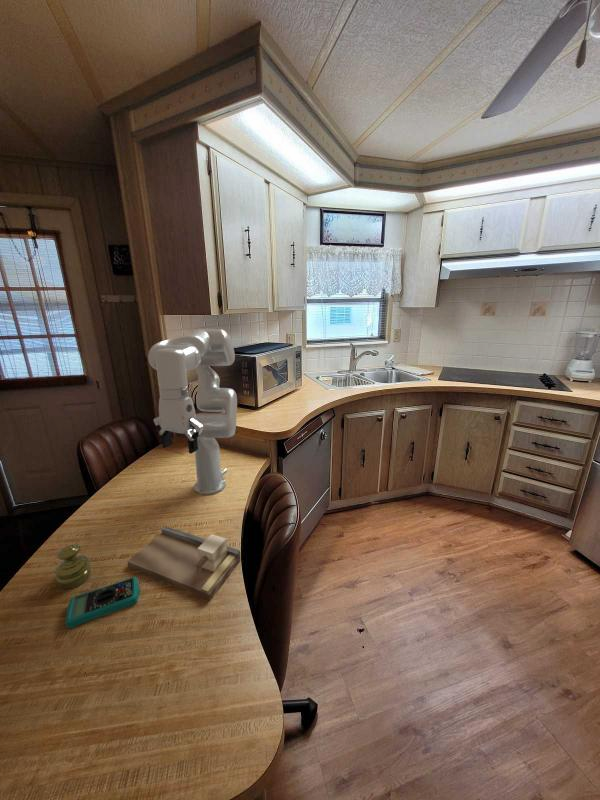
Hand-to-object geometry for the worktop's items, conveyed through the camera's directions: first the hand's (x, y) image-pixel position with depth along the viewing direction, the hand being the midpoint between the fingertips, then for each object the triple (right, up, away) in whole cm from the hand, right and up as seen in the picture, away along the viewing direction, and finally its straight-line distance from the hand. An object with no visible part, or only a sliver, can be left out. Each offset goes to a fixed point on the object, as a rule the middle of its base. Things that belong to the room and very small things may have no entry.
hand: (180, 448), depth 90 cm
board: (+3, -32, -3) cm, 33 cm away
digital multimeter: (-13, -36, -15) cm, 41 cm away
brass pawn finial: (-25, -34, -8) cm, 43 cm away
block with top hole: (+11, -31, -6) cm, 34 cm away
